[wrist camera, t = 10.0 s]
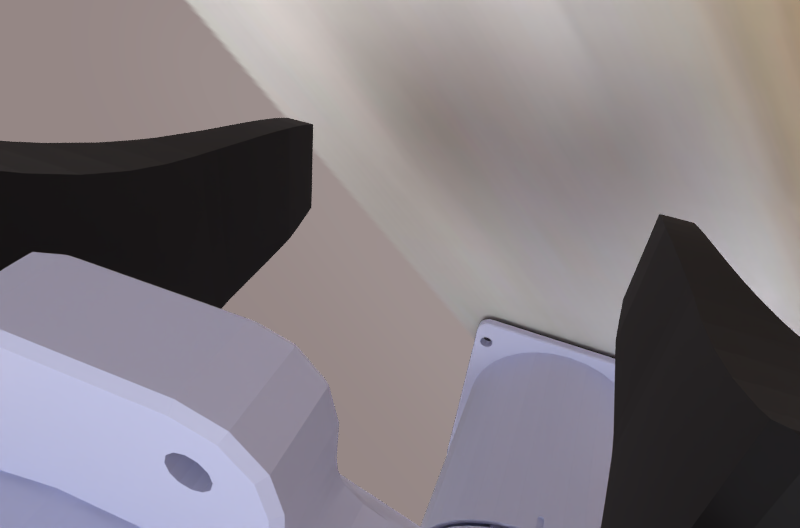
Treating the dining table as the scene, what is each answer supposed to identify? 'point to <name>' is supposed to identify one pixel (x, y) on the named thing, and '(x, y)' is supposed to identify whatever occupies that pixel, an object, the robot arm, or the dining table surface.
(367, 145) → the dining table surface
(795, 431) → the robot arm
